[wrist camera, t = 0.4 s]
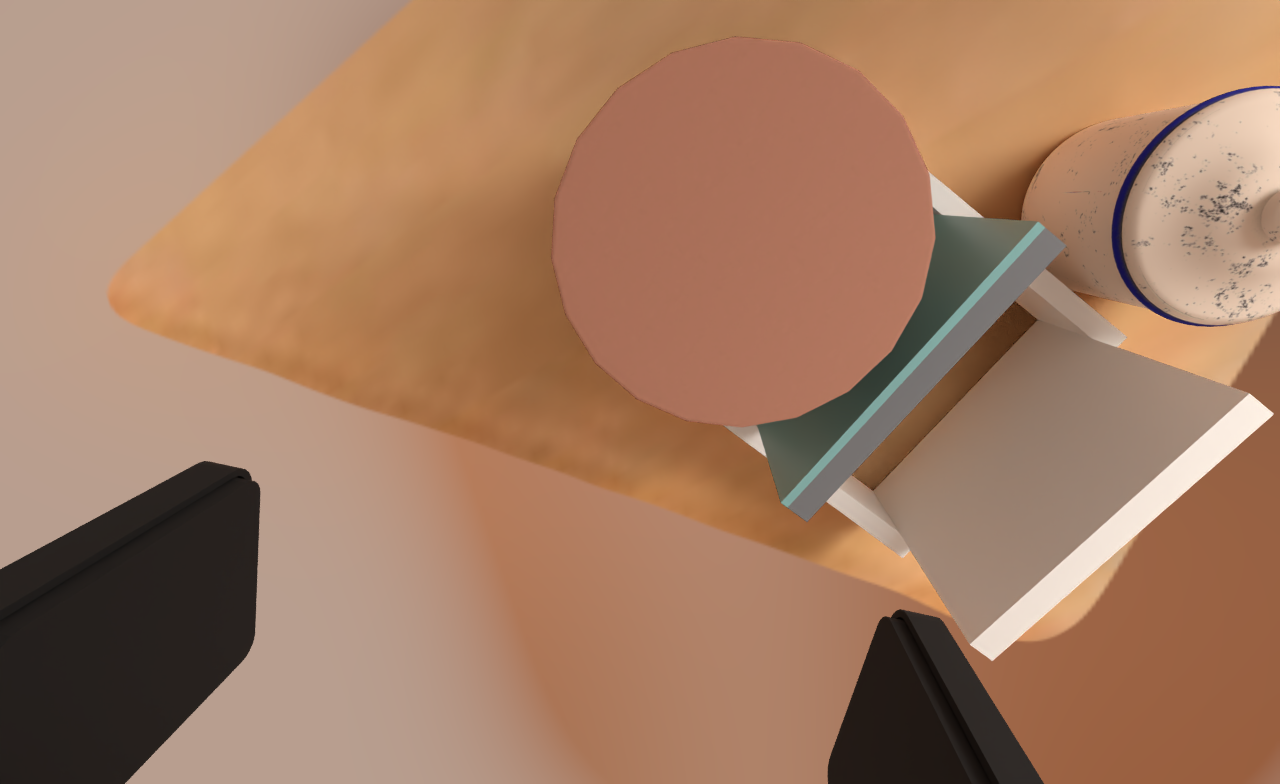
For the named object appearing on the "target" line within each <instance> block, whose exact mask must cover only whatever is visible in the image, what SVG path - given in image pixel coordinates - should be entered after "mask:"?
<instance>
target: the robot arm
mask: <svg viewBox="0 0 1280 784" xmlns="http://www.w3.org/2000/svg"><path fill="white" fill-rule="evenodd" d="M259 509H260V487H259V485H258V483H256V482H255V481H252V479H251V476H250V474H249V472H248V471H247V470H245V469H242V468H237V467H232V466H227V465H223V464H218V463H213V462H208V461H204V462H200V463H198V464H196V465H194V466H192V467H190V468H189V469H187V470H185V471H183V472H181V473H179V474H177V475H175V476H174V477H172V478H170V479H168V480H166V481H164V482H162V483H161V484H159V485H157V486H155V487H153V488H151V489H149V490H147V491H146V492H144V493H142V494H140V495H138V496H136V497H134V498H132V499H131V500H129V501H127V502H125V503H123V504H121V505H119V506H118V507H116V508H114V509H112V510H110V511H108V512H106V513H105V514H103V515H101V516H99V517H97V518H95V519H93V520H92V521H90V522H88V523H86V524H84V525H82V526H80V527H78V528H77V529H75V530H73V531H71V532H69V533H67V534H66V535H64V536H62V537H60V538H58V539H56V540H54V541H52V542H51V543H49V544H47V545H45V546H43V547H41V548H40V549H37V550H36V551H34V552H32V553H30V554H28V555H26V556H24V557H23V558H21V559H19V560H17V561H15V562H13V563H12V564H9V565H8V566H6V567H4V568H2V569H0V784H125V783H126V782H127V781H128V780H129V779H130V778H131V776H133V774H134V773H135V772H136V771H137V770H138V769H139V768H140V767H141V766H142V765H143V764H144V763H145V762H146V761H147V760H148V759H149V758H150V757H151V756H152V755H153V754H154V753H155V751H157V749H158V748H159V747H160V746H161V745H162V744H163V743H164V742H165V741H166V740H167V739H168V738H169V737H170V736H171V735H172V734H173V733H174V732H175V731H176V730H177V729H178V728H179V726H181V725H182V723H183V722H184V721H185V720H186V719H187V718H188V717H189V716H190V715H191V714H192V713H193V712H194V711H195V710H196V709H197V708H198V707H199V706H200V705H201V704H202V703H203V702H204V700H206V699H207V697H208V696H209V695H210V694H211V693H212V692H213V691H214V690H215V689H216V688H217V687H218V686H219V685H220V684H221V683H222V682H223V681H224V680H225V679H226V678H227V677H228V676H229V675H230V674H231V672H232V671H233V670H234V669H235V668H236V667H237V666H238V665H239V664H240V663H241V662H242V661H243V660H244V658H245V657H246V656H247V654H248V652H249V651H250V648H251V646H252V644H253V640H254V636H255V619H256V593H257V565H258V540H259V539H258V538H259V513H260V510H259ZM828 784H1044V783H1043V781H1042V780H1041V778H1040V777H1039V775H1038V773H1037V772H1036V770H1035V768H1034V767H1033V765H1032V764H1031V762H1030V760H1029V759H1028V757H1027V756H1026V754H1025V752H1024V751H1023V749H1022V748H1021V746H1020V745H1019V743H1018V741H1017V740H1016V738H1015V737H1014V735H1013V733H1012V732H1011V730H1010V728H1009V727H1008V725H1007V723H1006V722H1005V720H1004V719H1003V717H1002V715H1001V714H1000V712H999V711H998V709H997V708H996V706H995V704H994V703H993V701H992V700H991V698H990V696H989V695H988V693H987V691H986V690H985V688H984V687H983V685H982V683H981V682H980V680H979V679H978V677H977V676H976V674H975V672H974V670H973V669H972V667H971V666H970V664H969V662H968V661H967V659H966V658H965V656H964V654H963V653H962V651H961V650H960V648H959V646H958V645H957V643H956V642H955V640H954V639H953V637H952V635H951V634H950V632H949V630H948V629H947V627H946V626H945V624H944V622H943V621H942V620H941V619H940V618H937V617H933V616H929V615H924V614H919V613H915V612H910V611H905V610H901V609H900V610H897V611H896V612H895V613H894V614H893V615H892V617H891V618H890V617H883V618H882V619H881V620H880V621H879V623H878V626H877V629H876V631H875V634H874V637H873V640H872V642H871V645H870V648H869V651H868V653H867V656H866V659H865V662H864V664H863V667H862V670H861V673H860V675H859V678H858V681H857V684H856V687H855V689H854V693H853V695H852V698H851V700H850V703H849V706H848V709H847V712H846V715H845V717H844V720H843V723H842V725H841V728H840V731H839V734H838V736H837V739H836V742H835V745H834V748H833V750H832V753H831V756H830V759H829V764H828Z"/></svg>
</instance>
